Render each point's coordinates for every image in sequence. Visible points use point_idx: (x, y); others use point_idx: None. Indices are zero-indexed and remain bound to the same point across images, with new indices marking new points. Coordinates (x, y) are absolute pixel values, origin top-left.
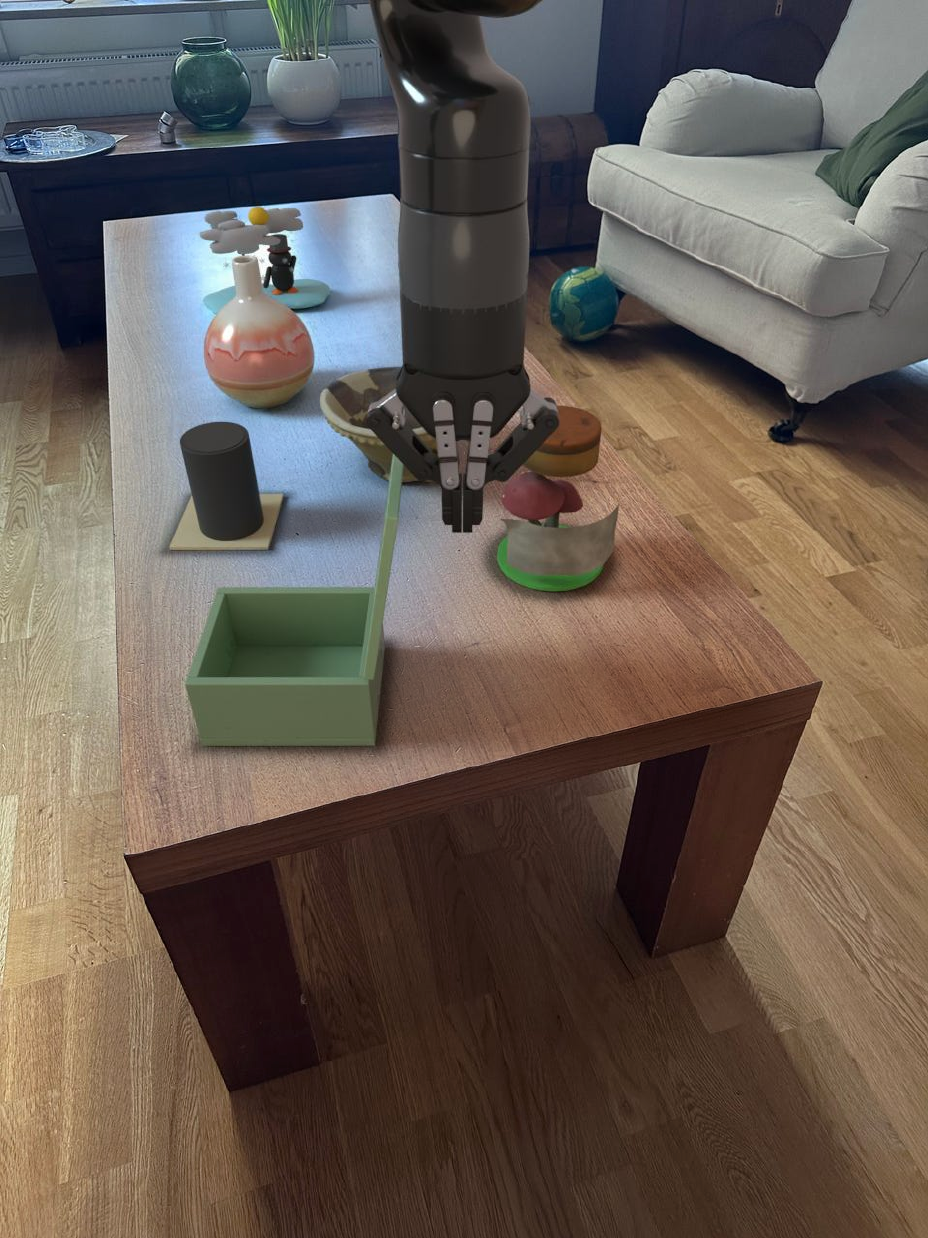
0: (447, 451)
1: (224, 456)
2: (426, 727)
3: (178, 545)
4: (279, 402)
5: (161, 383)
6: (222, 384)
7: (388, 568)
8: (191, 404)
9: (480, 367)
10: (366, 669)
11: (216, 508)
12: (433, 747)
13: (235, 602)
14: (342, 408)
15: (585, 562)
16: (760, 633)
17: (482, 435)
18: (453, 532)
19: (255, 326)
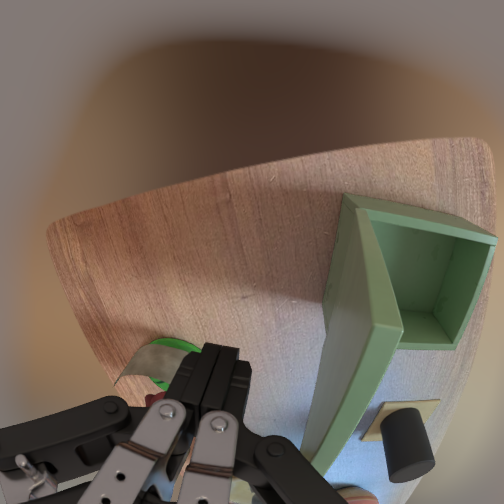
0: (203, 489)
1: (413, 461)
2: (297, 207)
3: (435, 402)
4: (342, 490)
5: (395, 492)
6: (373, 497)
7: (369, 261)
8: (387, 485)
9: None
10: (365, 212)
11: (416, 427)
12: (293, 183)
13: (443, 337)
14: None
15: (146, 350)
16: (58, 270)
17: (104, 495)
18: (236, 348)
19: None
